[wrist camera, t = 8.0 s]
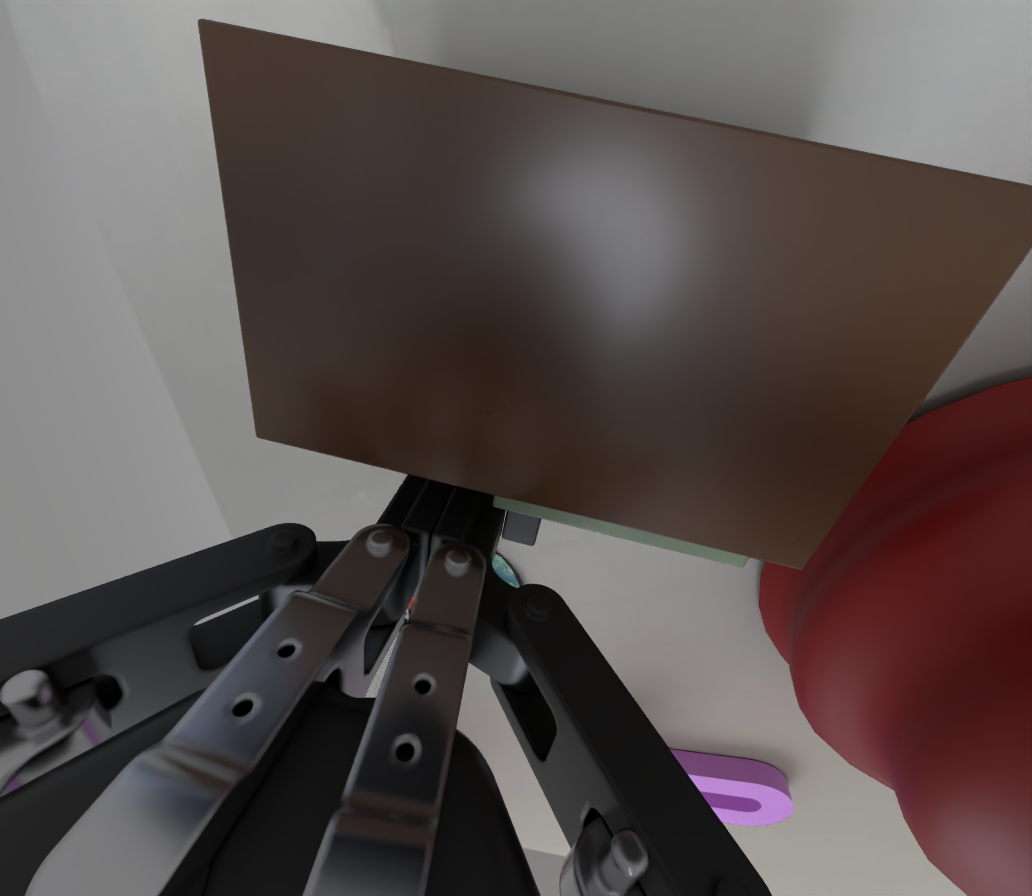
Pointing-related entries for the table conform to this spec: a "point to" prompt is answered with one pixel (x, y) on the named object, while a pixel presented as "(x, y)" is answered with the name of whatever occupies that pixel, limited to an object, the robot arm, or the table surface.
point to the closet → (587, 290)
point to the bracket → (739, 788)
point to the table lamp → (930, 635)
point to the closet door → (595, 530)
